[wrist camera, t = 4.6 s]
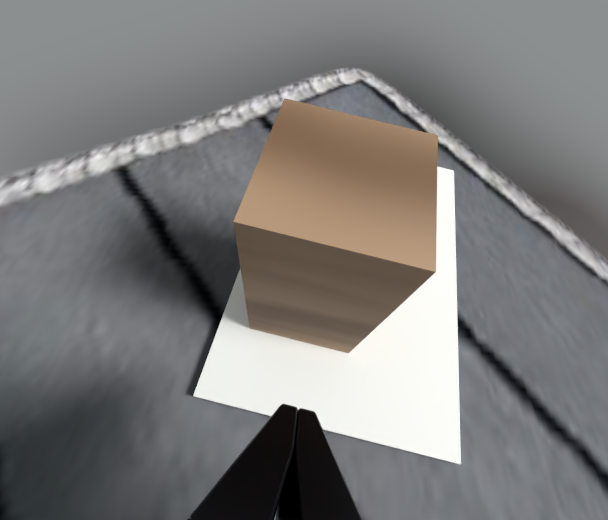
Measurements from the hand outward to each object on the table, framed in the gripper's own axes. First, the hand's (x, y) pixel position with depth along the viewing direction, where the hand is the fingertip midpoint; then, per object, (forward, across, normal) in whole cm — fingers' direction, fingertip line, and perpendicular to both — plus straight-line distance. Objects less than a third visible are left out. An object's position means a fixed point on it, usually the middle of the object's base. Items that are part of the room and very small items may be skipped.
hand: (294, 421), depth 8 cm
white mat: (+12, -2, -1) cm, 12 cm away
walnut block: (+9, 0, 0) cm, 9 cm away
